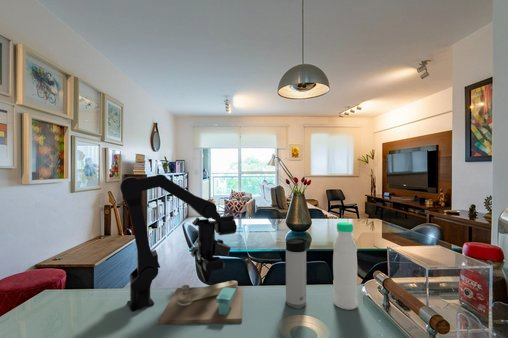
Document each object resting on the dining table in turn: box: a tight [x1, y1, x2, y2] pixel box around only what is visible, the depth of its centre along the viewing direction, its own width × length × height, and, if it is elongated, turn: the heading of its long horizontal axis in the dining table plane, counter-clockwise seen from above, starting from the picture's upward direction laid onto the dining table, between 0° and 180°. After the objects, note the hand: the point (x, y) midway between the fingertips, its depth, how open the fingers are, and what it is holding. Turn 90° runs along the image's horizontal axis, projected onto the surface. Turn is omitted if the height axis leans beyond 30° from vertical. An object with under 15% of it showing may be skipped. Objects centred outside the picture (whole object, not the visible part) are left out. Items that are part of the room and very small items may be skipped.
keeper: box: [178, 287, 236, 315], centre depth 75 cm, size 18×7×4 cm, turn 79°
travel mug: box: [285, 237, 308, 309], centre depth 78 cm, size 6×7×20 cm
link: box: [179, 280, 238, 304], centre depth 81 cm, size 20×4×4 cm, turn 119°
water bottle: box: [332, 221, 359, 311], centre depth 78 cm, size 7×7×25 cm
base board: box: [157, 286, 244, 325], centre depth 78 cm, size 22×19×1 cm
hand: (206, 281), depth 87 cm, fingers closed
